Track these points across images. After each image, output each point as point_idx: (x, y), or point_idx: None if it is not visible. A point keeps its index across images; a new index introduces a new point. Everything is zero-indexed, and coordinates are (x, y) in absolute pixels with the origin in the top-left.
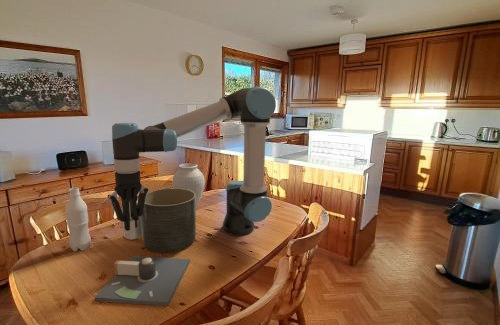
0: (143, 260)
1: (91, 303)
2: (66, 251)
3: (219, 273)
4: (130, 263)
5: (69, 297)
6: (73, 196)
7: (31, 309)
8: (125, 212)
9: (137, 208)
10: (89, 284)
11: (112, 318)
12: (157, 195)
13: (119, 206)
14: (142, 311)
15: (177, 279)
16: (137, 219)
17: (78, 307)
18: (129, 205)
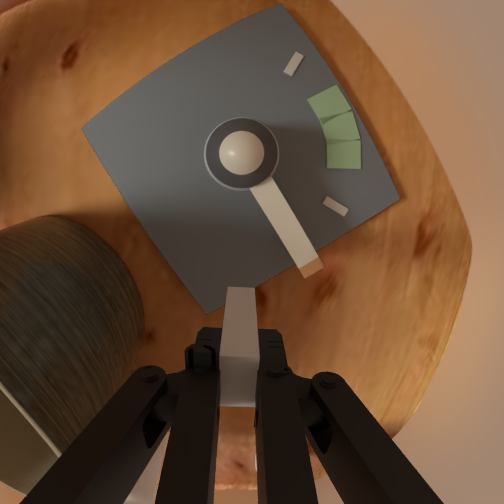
0: (252, 163)
1: (403, 195)
2: (308, 448)
3: (83, 17)
4: (285, 214)
5: (416, 267)
6: None
7: (462, 288)
8: (302, 437)
9: (148, 445)
10: (365, 282)
11: (398, 95)
12: (16, 469)
13: (394, 493)
14: (338, 47)
15: (187, 56)
16: (199, 345)
17: (424, 209)
18: (128, 500)
